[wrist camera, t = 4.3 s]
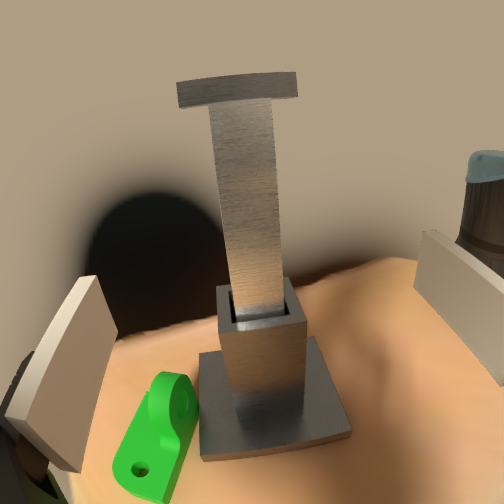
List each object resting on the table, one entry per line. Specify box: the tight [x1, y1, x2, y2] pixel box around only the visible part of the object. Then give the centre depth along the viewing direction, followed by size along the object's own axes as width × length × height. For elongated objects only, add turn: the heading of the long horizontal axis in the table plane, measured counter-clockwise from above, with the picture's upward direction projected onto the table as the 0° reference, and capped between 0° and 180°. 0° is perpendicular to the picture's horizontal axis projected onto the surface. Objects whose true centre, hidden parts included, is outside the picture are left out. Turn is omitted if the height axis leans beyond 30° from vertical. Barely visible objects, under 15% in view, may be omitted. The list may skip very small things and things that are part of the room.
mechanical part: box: [112, 372, 199, 504], centre depth 23 cm, size 12×6×8 cm, turn 171°
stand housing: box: [199, 276, 352, 462], centre depth 27 cm, size 14×14×14 cm
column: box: [176, 72, 298, 323], centre depth 23 cm, size 7×4×28 cm, turn 97°
